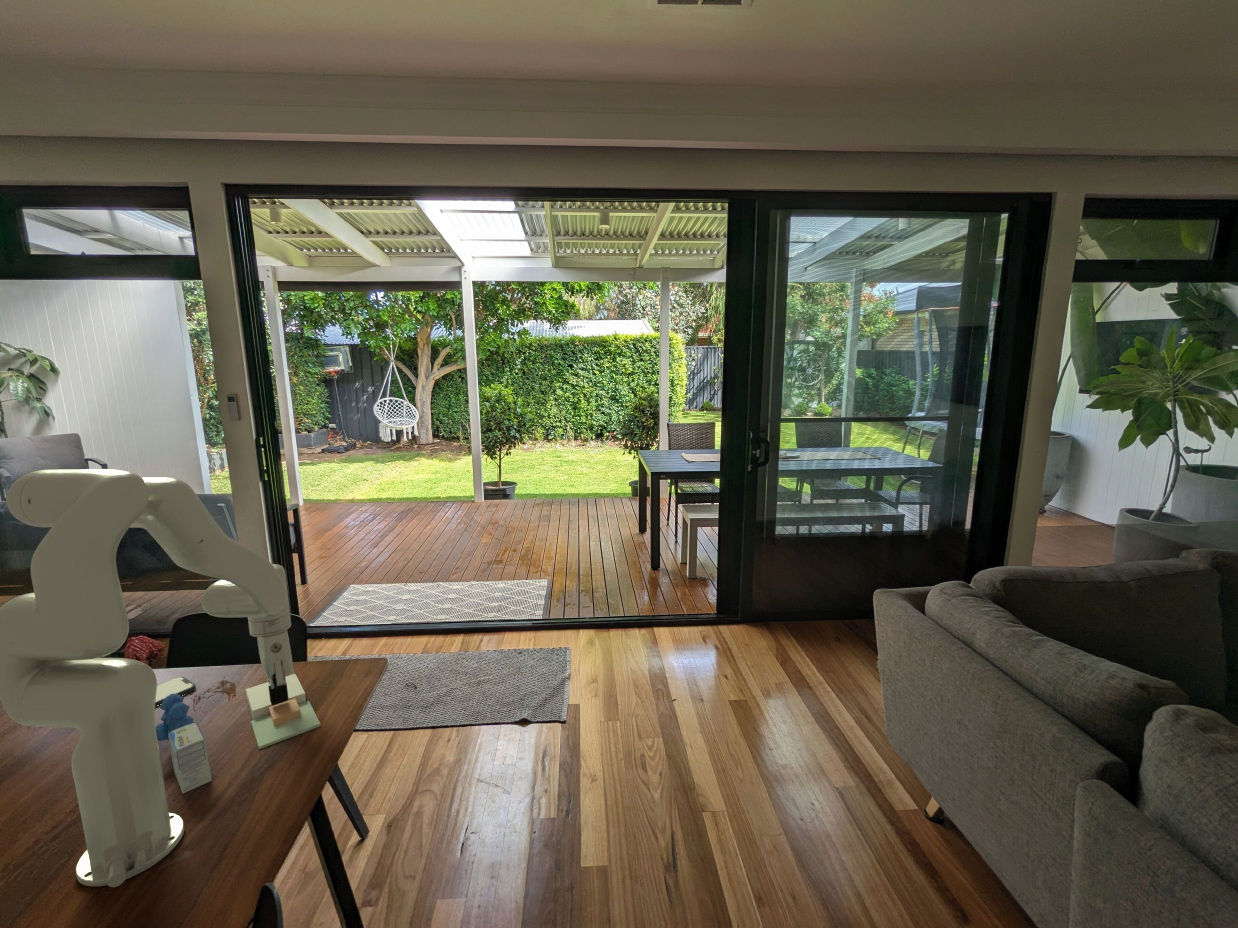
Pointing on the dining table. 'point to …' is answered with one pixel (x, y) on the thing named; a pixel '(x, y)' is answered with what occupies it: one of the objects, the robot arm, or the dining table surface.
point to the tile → (284, 712)
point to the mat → (284, 726)
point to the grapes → (172, 716)
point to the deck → (261, 698)
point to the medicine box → (189, 757)
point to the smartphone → (173, 688)
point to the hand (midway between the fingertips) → (279, 701)
